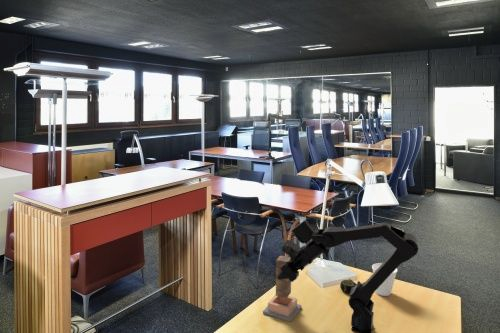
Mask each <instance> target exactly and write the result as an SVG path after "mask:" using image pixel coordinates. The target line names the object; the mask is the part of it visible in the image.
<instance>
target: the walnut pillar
mask: <svg viewBox="0 0 500 333" xmlns="http://www.w3.org/2000/svg"><path fill="white" fill-rule="evenodd" d="M287 261H288V262H292V260H291V259H290V256H286V255H279V256H278V258H277V259H276V261H275V295H276V296H280V297H285V298H288V296H290V294H291V293H292V282H291V281H290V280H289V279H281V280H279V279H278V278H277V277H278V276H279V275H280V273H281V272H282V270H281V267H282V266H283V264H284V263H286V262H287Z"/></svg>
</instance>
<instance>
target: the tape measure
mask: <svg viewBox="0 0 500 333" xmlns="http://www.w3.org/2000/svg"><path fill="white" fill-rule="evenodd" d="M356 284H357V282H354V280H352V279H351V278H349V279H342V280H341V282H340V284H339V285H340V287H339V288H340V290H341V291H342V292H343V293H348V294H350V292H351V289H352V287H354V286H355V285H356Z"/></svg>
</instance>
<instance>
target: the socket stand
mask: <svg viewBox="0 0 500 333" xmlns="http://www.w3.org/2000/svg"><path fill="white" fill-rule="evenodd" d="M301 309H302V304H299V303H298V298H297V297H292V296H290V295H289V296H288V298H285V297H280V296H276V294H275V295H274V296H273V297H272V298H271V299H270V300H269V301H268V302H267V306H266V307H265V308H264V310H262V314H263V315H267V316H270V317H272V318H276V319H280V320H283V321H285V322H286V321H287V322H290V323H291V322H292V321H293V319H294V318H295V317H296V315H297V314H298V313H299V311H300V310H301Z"/></svg>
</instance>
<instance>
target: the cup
mask: <svg viewBox="0 0 500 333" xmlns="http://www.w3.org/2000/svg"><path fill="white" fill-rule="evenodd" d="M382 263H383V262H379V263H378V262H377V263H373V264H372V265H371V268H372V272H373V273H374V272H375V271H376V270H377V269H378V268H379V267H380V265H381V264H382ZM373 273H372V274H373ZM397 273H398V267H397V268H396V269H395V270H394V271H393V273H392V274H391V275H390V276H389V277H388V278H387V279H386V280H385V281H384V282H383V283H382V284H381V285H380V286H379V288H378V289H377V290H376V291H375V292H374V293H376V294H377V295H378V296H382V297H388V296H390V295H391V293H392V290H393V287H394V283H395V279H396V276H397Z"/></svg>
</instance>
